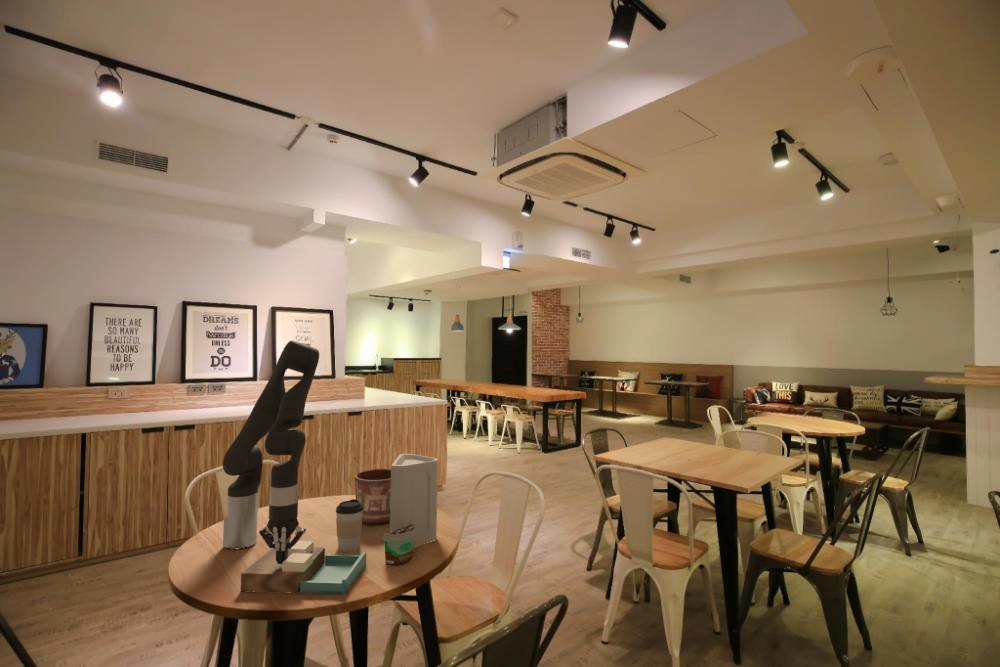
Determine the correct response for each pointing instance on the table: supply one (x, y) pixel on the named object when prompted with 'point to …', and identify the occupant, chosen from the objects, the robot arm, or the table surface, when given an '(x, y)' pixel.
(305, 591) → the tray
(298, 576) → the walnut board
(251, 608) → the table surface
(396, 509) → the white wifi router
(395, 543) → the food container
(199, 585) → the table surface
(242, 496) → the robot arm
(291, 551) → the tile
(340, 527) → the coffee cup
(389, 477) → the pottery
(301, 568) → the tile
